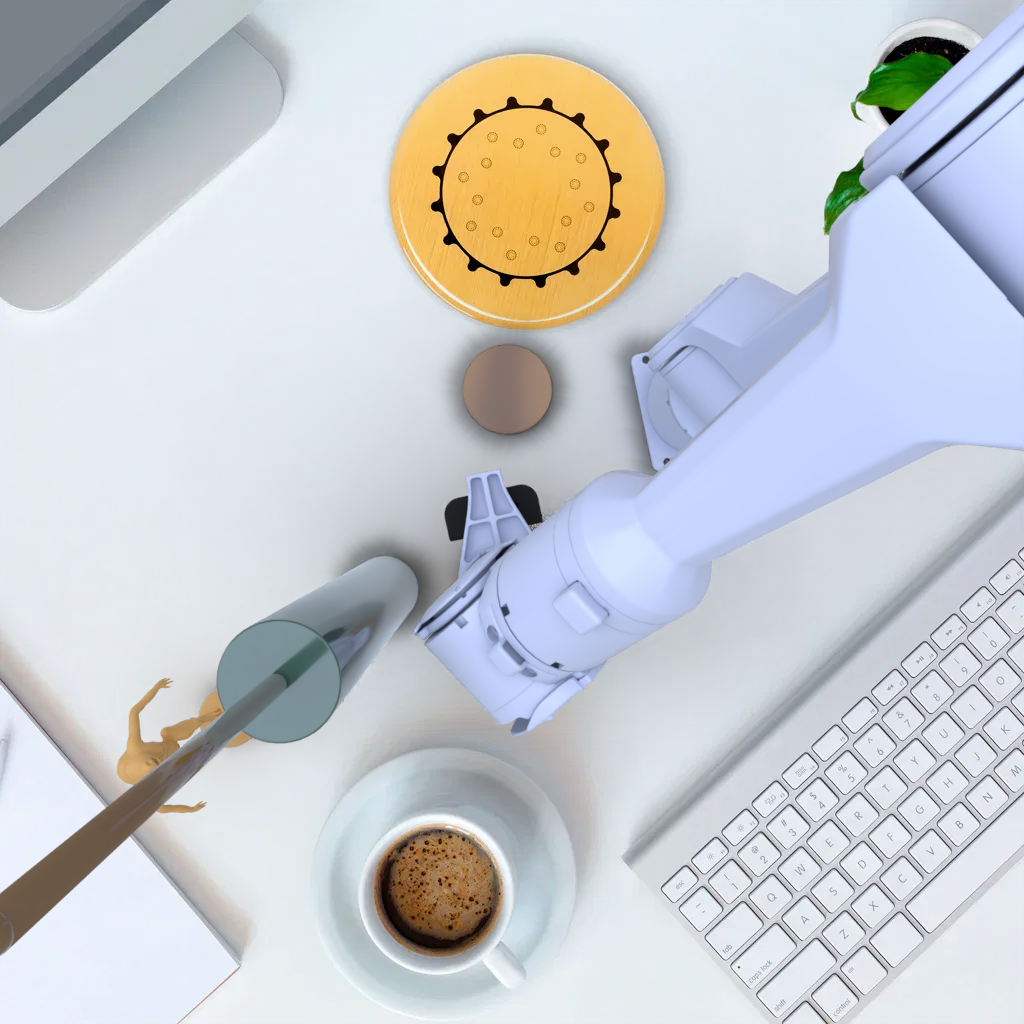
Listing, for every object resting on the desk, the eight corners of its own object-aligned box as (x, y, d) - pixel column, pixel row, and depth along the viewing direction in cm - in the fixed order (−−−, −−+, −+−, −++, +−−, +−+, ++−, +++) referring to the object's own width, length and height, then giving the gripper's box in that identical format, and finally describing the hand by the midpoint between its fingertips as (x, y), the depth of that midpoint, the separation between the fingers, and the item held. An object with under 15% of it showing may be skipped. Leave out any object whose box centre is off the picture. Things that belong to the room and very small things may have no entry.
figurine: (282, 760, 65) (231, 823, 53) (198, 782, 65) (127, 850, 53) (250, 643, 65) (192, 680, 53) (165, 666, 65) (87, 707, 53)
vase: (410, 549, 65) (85, 774, 15) (424, 615, 65) (149, 1054, 15) (344, 563, 65) (-201, 834, 15) (358, 629, 65) (-134, 1114, 15)
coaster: (541, 337, 64) (542, 335, 64) (559, 424, 65) (560, 423, 64) (454, 355, 64) (454, 354, 64) (473, 442, 65) (473, 442, 64)
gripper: (404, 487, 49) (426, 486, 63) (463, 761, 50) (473, 701, 63) (538, 458, 49) (531, 464, 63) (596, 732, 50) (577, 679, 63)
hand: (509, 581), depth 63 cm, fingers open, 7 cm apart
